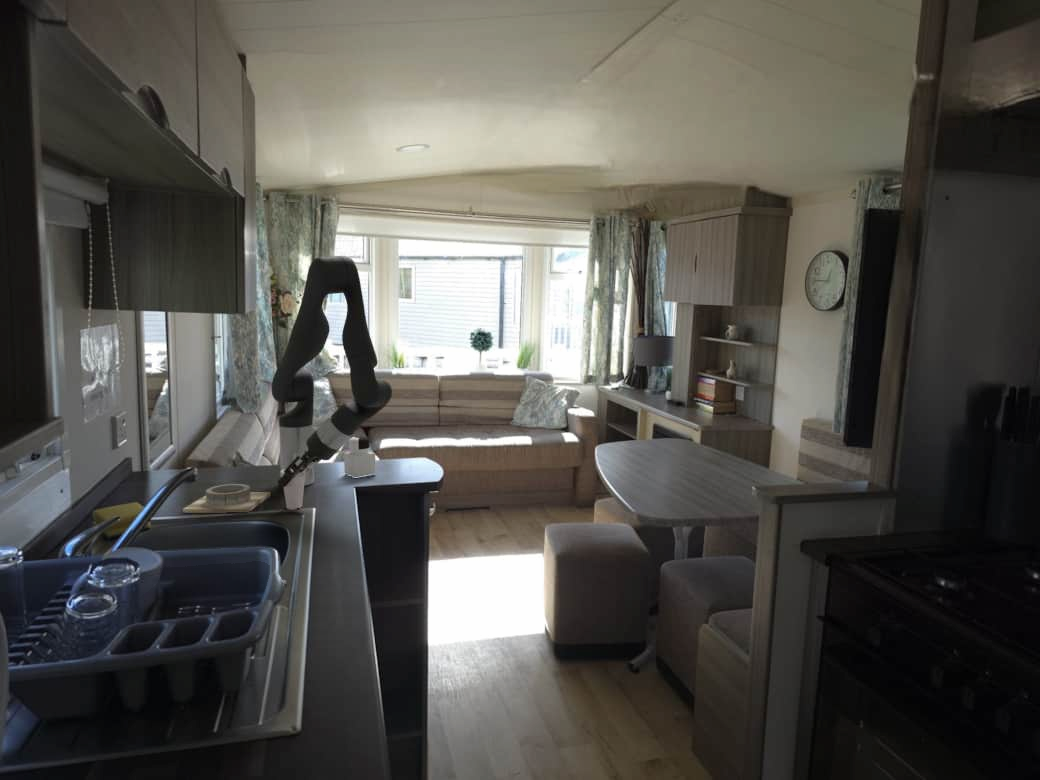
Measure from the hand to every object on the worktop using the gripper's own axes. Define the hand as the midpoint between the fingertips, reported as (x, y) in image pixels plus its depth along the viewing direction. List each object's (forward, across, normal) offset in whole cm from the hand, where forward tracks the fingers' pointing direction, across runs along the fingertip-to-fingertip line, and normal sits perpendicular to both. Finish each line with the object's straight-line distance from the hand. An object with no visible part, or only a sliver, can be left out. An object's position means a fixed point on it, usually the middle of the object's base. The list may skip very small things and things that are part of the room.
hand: (287, 481), depth 171 cm
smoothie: (+4, 0, +6) cm, 7 cm away
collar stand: (+17, 0, -7) cm, 18 cm away
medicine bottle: (+2, -36, +8) cm, 37 cm away
